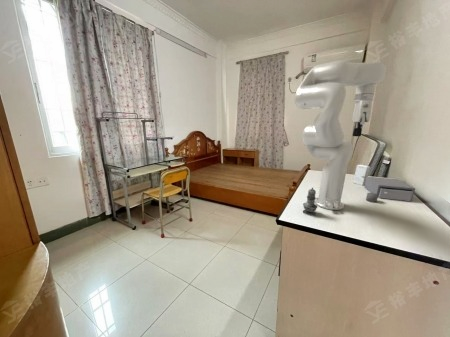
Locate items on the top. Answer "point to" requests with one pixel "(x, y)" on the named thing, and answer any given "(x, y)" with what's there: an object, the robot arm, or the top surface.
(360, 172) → the skincare box
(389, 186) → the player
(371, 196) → the puck
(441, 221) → the top surface
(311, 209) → the grey stone pagoda
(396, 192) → the grey drawer
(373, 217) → the top surface
